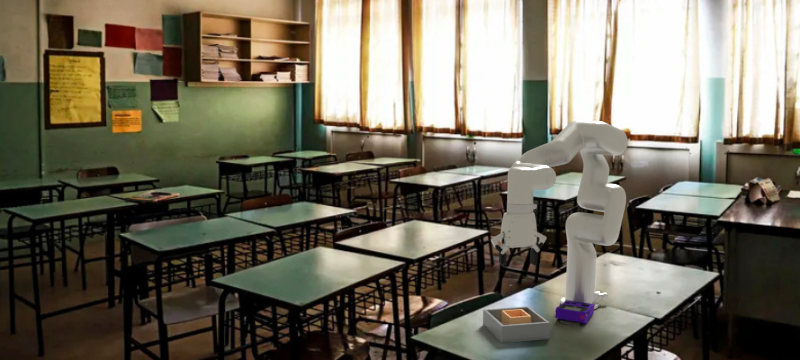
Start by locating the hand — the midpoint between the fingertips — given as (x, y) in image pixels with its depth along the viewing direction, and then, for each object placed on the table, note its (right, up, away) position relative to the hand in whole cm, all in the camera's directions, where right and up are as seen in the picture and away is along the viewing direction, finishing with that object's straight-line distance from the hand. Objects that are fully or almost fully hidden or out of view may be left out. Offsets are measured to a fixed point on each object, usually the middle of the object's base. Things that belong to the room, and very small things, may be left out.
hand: (518, 265), depth 202 cm
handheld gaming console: (+21, -19, +16) cm, 32 cm away
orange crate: (0, -20, +2) cm, 20 cm away
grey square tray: (-1, -20, +2) cm, 20 cm away
